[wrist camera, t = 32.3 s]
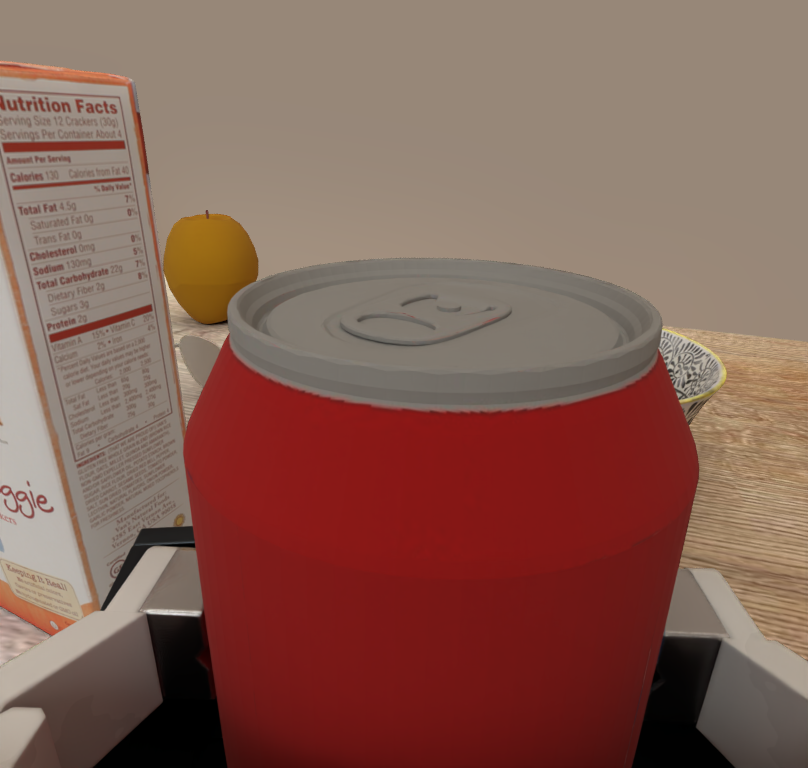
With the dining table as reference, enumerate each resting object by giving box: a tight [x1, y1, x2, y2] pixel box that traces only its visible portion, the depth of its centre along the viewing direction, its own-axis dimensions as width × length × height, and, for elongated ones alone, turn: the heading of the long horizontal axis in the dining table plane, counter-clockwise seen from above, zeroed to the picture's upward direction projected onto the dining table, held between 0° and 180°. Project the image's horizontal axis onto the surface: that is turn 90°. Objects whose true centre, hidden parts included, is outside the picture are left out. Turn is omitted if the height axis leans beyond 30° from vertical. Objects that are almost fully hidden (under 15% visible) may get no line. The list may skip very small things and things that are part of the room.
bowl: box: [658, 328, 727, 425], centre depth 37 cm, size 16×16×8 cm
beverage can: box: [183, 258, 699, 768], centre depth 10 cm, size 7×7×12 cm
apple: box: [163, 210, 258, 324], centre depth 63 cm, size 10×10×12 cm
